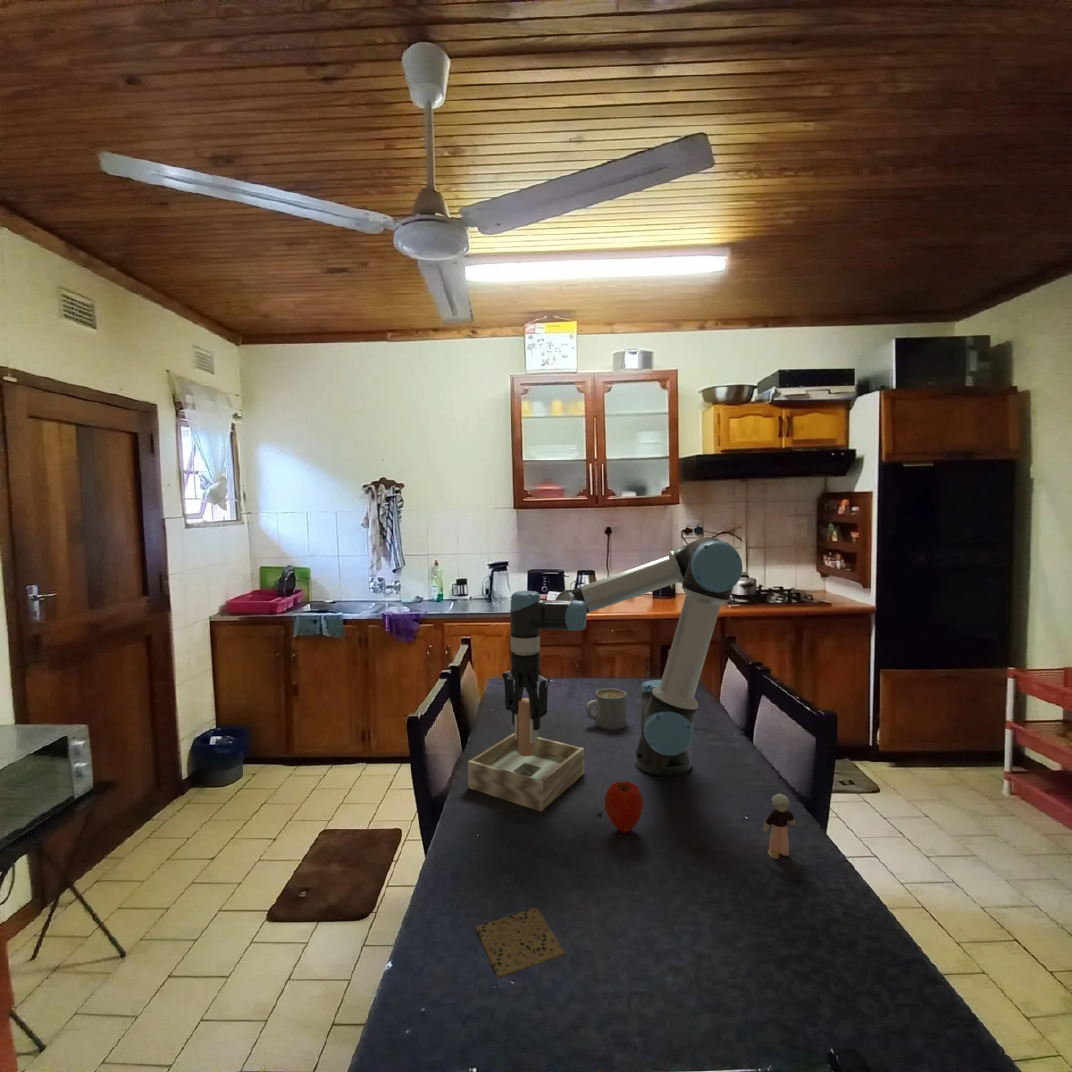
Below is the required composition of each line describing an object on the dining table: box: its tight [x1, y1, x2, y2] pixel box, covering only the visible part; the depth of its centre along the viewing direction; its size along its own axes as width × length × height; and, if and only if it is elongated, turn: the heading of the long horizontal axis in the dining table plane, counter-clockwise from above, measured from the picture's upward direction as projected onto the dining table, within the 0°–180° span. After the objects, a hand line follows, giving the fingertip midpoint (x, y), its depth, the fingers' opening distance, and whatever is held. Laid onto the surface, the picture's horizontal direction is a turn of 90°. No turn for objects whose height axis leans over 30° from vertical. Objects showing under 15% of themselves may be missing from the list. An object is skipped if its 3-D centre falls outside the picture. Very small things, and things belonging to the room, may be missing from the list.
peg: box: [518, 697, 534, 756], centre depth 153 cm, size 4×4×14 cm
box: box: [467, 732, 585, 812], centre depth 154 cm, size 22×22×7 cm
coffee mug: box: [585, 687, 627, 730], centre depth 191 cm, size 13×10×10 cm
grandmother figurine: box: [762, 793, 797, 860], centre depth 121 cm, size 8×4×13 cm, turn 117°
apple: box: [604, 781, 644, 834], centre depth 130 cm, size 9×8×11 cm
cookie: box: [475, 907, 566, 979], centre depth 99 cm, size 12×12×1 cm
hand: (526, 739), depth 153 cm, fingers closed on peg, 4 cm apart
